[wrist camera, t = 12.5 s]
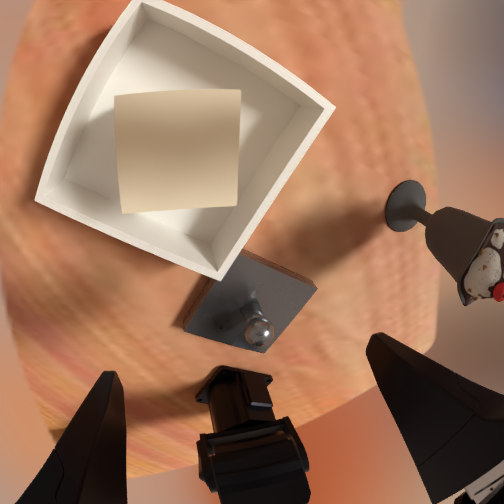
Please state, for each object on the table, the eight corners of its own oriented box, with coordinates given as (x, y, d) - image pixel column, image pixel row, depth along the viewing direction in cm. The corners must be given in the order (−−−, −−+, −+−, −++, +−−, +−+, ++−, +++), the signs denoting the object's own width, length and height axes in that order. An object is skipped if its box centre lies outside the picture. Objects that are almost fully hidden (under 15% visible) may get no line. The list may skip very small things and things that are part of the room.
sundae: (363, 223, 23) (497, 346, 10) (404, 156, 21) (561, 241, 8) (404, 250, 26) (512, 352, 13) (439, 193, 24) (562, 275, 11)
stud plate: (260, 344, 27) (274, 382, 23) (183, 321, 24) (187, 364, 20) (312, 280, 25) (336, 316, 21) (231, 243, 21) (245, 281, 17)
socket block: (218, 172, 18) (237, 206, 13) (138, 177, 17) (122, 213, 12) (220, 93, 15) (241, 89, 10) (135, 97, 14) (113, 95, 9)
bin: (212, 249, 21) (220, 281, 18) (58, 180, 16) (34, 200, 12) (306, 104, 17) (336, 107, 14) (146, 12, 12) (139, -9, 9)
